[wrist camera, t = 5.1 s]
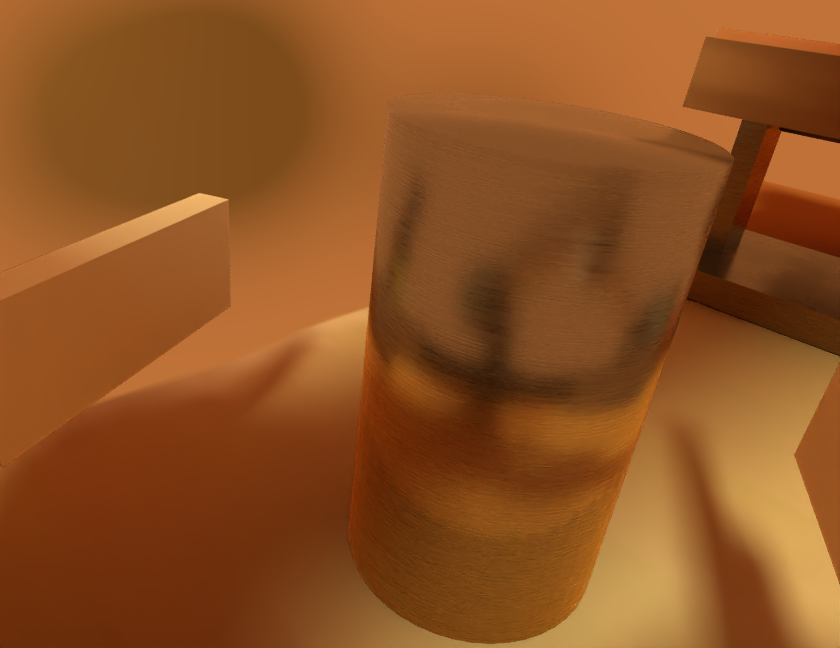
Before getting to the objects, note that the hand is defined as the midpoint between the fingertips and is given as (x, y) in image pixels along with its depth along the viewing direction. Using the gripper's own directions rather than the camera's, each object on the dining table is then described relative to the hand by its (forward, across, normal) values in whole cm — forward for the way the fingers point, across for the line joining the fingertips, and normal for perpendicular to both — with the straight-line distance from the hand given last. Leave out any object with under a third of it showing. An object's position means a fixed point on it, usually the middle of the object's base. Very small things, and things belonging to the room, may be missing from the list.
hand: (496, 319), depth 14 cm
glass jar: (0, 0, -6) cm, 6 cm away
